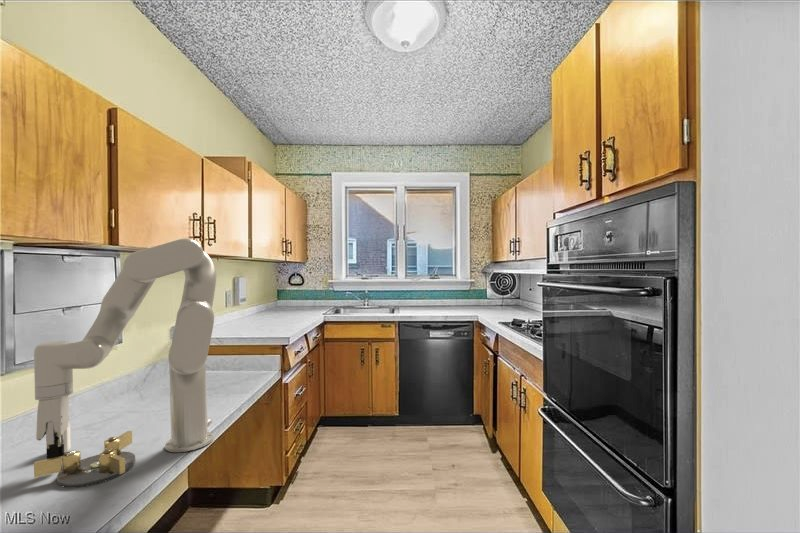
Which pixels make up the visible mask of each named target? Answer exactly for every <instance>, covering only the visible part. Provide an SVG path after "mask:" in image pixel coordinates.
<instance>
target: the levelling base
mask: <svg viewBox="0 0 800 533" xmlns="http://www.w3.org/2000/svg"><path fill="white" fill-rule="evenodd" d="M118 456H120V457H123V458H125V473H127V472H128V471H130V470H131V469H132V468H133V467H134V466H135V465H134V464H136V454H135V453H133V452H132V451H131V452H130V451H121V454H120V455H118ZM130 468H131V469H130ZM129 469H130V470H129ZM126 471H127V472H126ZM119 475H120V476H121V474H117V473H115V472H113V471H109V472H99V454H96V455H92V456H89V457H86V458H83V459H81V469H80V470H78V471H76V472H73V473H68V474H63V473H62V471H61V472H57V476H56V481H57V482H56V484H57V486H59V487H61V486H64V487H63V488H66V487H76V488H82V487H81V486H84V487H88V486H87V485H89V486H92V485H91V484H94V485H96V484H95V483H98V484H100V483H99V482H101V483H103V482H102V481H105V480H107V481H109V480H108V479H110V480H112V479H111V478H113V477H115V478H117V477H116V476H118V477H120V476H119ZM122 475H123V473H122ZM113 479H114V478H113ZM105 482H106V481H105Z"/></svg>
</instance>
